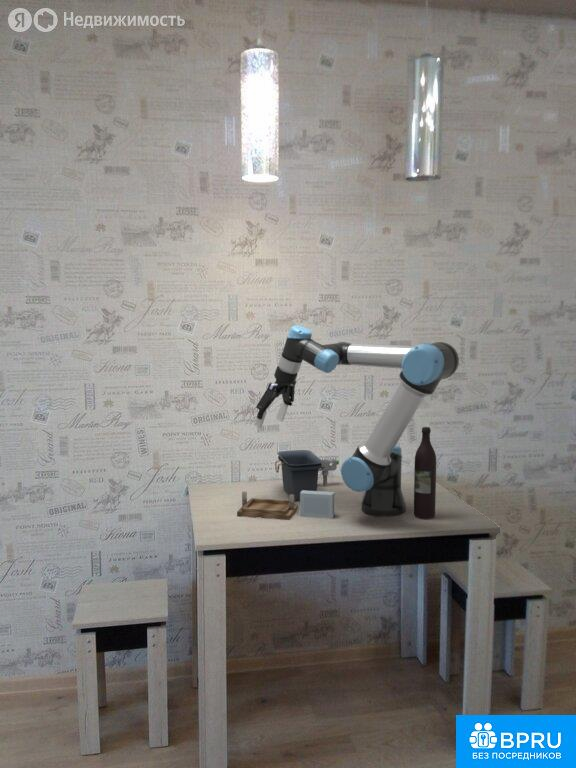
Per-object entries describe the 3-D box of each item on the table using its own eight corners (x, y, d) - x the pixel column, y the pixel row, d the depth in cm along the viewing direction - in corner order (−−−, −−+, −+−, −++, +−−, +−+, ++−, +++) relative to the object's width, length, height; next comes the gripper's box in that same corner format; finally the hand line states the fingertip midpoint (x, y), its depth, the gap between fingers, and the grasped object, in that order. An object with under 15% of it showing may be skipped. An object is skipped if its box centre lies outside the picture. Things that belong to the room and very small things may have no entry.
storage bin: (325, 501, 268) (325, 462, 266) (283, 504, 264) (283, 464, 262) (309, 485, 288) (309, 449, 287) (269, 488, 285) (269, 451, 283)
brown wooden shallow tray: (298, 508, 259) (298, 490, 259) (289, 519, 247) (289, 500, 246) (247, 505, 264) (247, 487, 263) (236, 516, 251) (236, 497, 250)
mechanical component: (311, 485, 289) (311, 460, 287) (337, 484, 290) (337, 458, 289) (312, 487, 286) (312, 461, 284) (339, 486, 288) (339, 460, 286)
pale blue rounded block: (334, 515, 252) (334, 492, 251) (332, 518, 248) (332, 495, 247) (302, 513, 254) (302, 490, 253) (300, 516, 251) (299, 493, 250)
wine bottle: (409, 514, 252) (411, 426, 248) (427, 512, 255) (429, 425, 251) (420, 520, 246) (422, 430, 242) (439, 518, 248) (441, 428, 244)
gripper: (298, 360, 269) (279, 412, 277) (258, 368, 249) (239, 424, 256) (314, 370, 266) (295, 421, 273) (275, 378, 245) (256, 434, 253)
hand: (268, 423), depth 265 cm, fingers open, 13 cm apart
